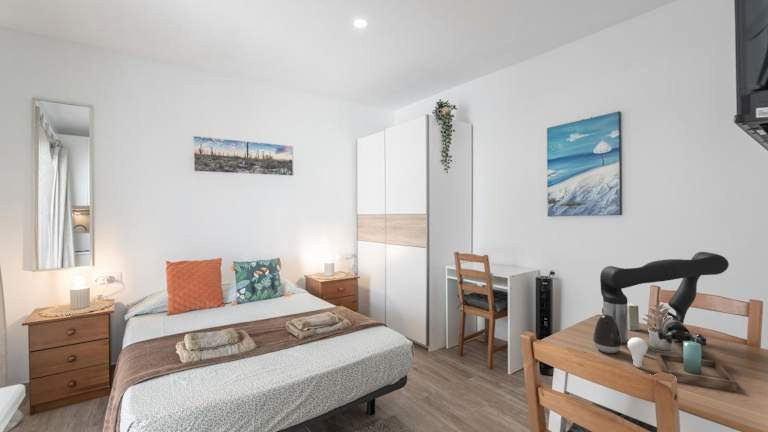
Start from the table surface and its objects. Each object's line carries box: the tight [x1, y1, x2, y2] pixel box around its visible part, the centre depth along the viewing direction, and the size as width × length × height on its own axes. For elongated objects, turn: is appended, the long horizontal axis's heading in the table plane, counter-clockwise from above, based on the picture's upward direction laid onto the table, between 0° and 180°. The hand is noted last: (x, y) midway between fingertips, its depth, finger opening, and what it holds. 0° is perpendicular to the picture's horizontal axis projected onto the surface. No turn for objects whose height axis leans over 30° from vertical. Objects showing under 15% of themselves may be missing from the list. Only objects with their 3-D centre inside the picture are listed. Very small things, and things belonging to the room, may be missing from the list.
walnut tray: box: [655, 352, 737, 393], centre depth 124 cm, size 18×18×3 cm
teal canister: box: [682, 340, 702, 375], centre depth 124 cm, size 5×5×10 cm
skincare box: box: [627, 302, 640, 331], centre depth 174 cm, size 6×4×12 cm
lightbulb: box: [627, 337, 649, 369], centre depth 130 cm, size 6×6×11 cm
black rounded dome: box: [592, 314, 623, 354], centre depth 146 cm, size 10×10×15 cm
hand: (685, 343), depth 131 cm, fingers open, 8 cm apart
